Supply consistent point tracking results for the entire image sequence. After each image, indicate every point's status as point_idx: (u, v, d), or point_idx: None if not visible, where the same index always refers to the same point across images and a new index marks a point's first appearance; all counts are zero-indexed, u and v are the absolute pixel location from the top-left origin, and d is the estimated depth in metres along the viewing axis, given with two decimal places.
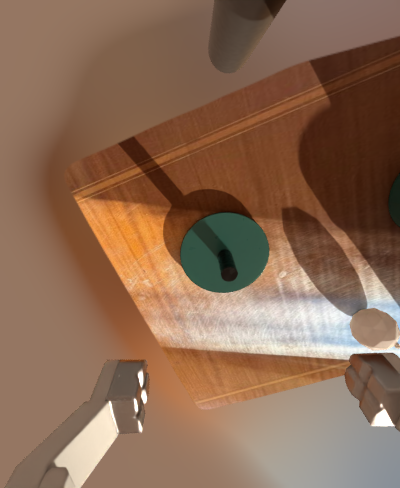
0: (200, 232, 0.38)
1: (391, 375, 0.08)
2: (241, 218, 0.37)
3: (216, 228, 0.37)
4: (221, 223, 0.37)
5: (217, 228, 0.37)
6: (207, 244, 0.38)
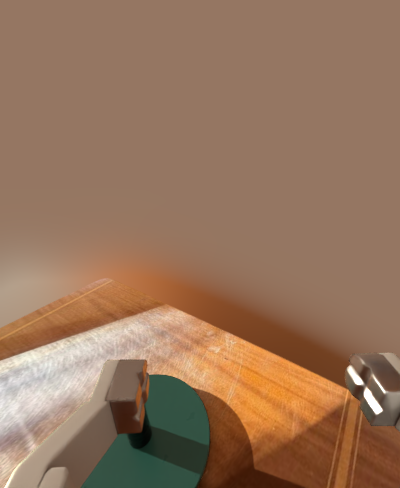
0: (192, 448, 0.24)
1: (391, 375, 0.08)
2: None
3: (172, 474, 0.22)
4: None
5: (170, 475, 0.22)
6: (173, 436, 0.25)
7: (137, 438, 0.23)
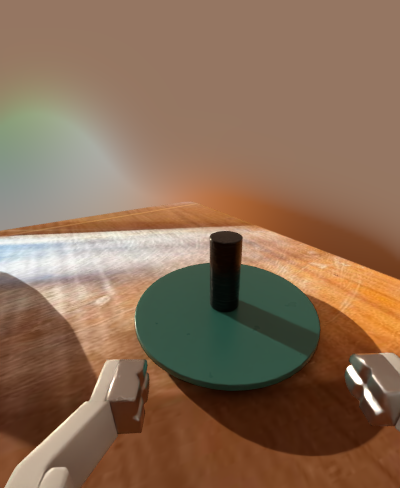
0: (295, 330, 0.17)
1: (391, 375, 0.08)
2: (217, 375, 0.14)
3: (265, 344, 0.16)
4: (260, 355, 0.15)
5: (263, 344, 0.16)
6: (267, 314, 0.19)
7: (224, 295, 0.18)
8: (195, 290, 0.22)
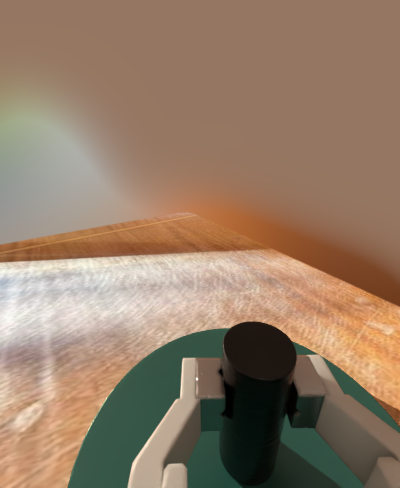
0: None
1: (310, 377, 0.08)
2: None
3: None
4: None
5: None
6: None
7: (252, 462, 0.09)
8: None
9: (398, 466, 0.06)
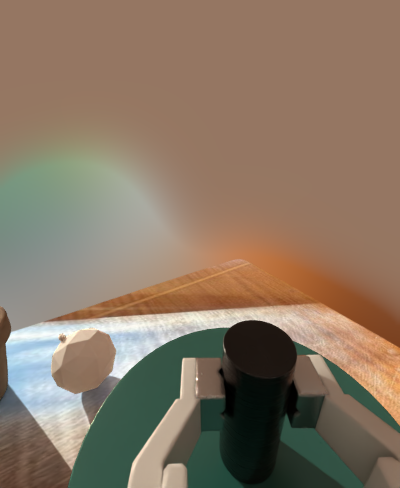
0: None
1: (310, 377, 0.08)
2: None
3: None
4: None
5: None
6: None
7: (252, 461, 0.09)
8: None
9: (397, 467, 0.06)
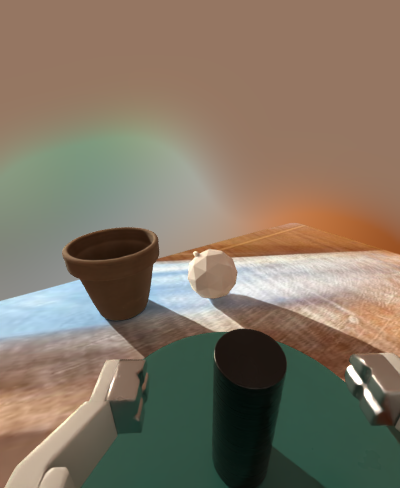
0: None
1: (391, 375, 0.08)
2: None
3: None
4: None
5: None
6: None
7: (243, 468, 0.09)
8: (185, 409, 0.12)
9: None
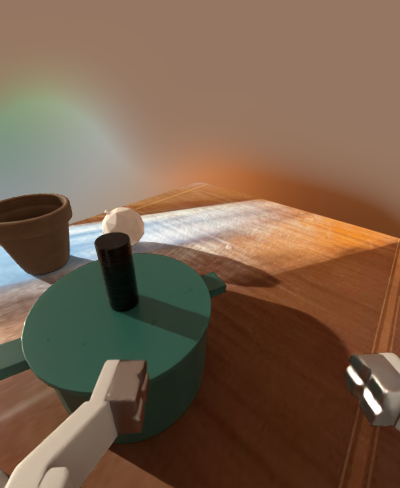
0: (189, 317, 0.19)
1: (391, 375, 0.08)
2: None
3: (161, 338, 0.17)
4: (155, 350, 0.16)
5: (159, 338, 0.17)
6: (165, 305, 0.20)
7: (120, 296, 0.18)
8: (94, 291, 0.21)
9: None
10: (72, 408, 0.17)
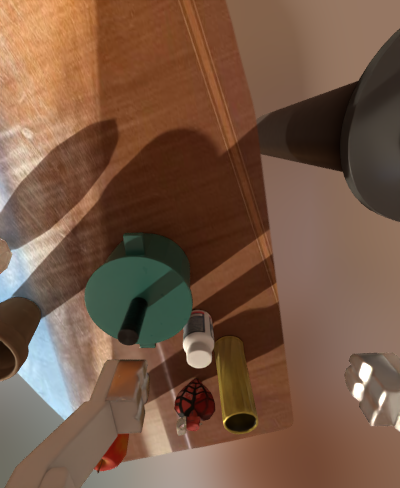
0: (167, 278, 0.31)
1: (391, 375, 0.08)
2: (186, 317, 0.34)
3: (173, 295, 0.32)
4: (179, 299, 0.33)
5: (173, 295, 0.32)
6: (152, 286, 0.32)
7: (145, 314, 0.31)
8: (123, 316, 0.34)
9: None
10: None
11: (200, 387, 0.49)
